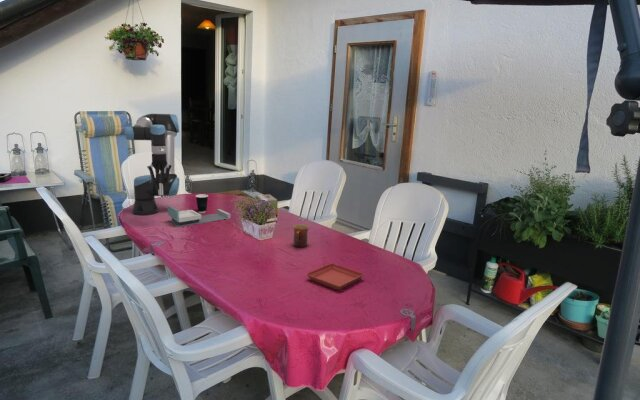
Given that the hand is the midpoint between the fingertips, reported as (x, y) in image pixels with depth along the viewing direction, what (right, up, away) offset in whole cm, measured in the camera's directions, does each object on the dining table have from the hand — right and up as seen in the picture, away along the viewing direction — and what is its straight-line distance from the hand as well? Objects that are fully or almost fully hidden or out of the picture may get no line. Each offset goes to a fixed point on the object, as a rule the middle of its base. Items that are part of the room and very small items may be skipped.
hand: (160, 194), depth 244 cm
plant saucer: (+96, -38, -59) cm, 119 cm away
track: (+17, -15, +19) cm, 29 cm away
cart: (+10, -16, +13) cm, 23 cm away
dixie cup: (+13, -11, +36) cm, 40 cm away
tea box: (+56, -16, +25) cm, 64 cm away
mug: (+79, -27, -20) cm, 86 cm away
